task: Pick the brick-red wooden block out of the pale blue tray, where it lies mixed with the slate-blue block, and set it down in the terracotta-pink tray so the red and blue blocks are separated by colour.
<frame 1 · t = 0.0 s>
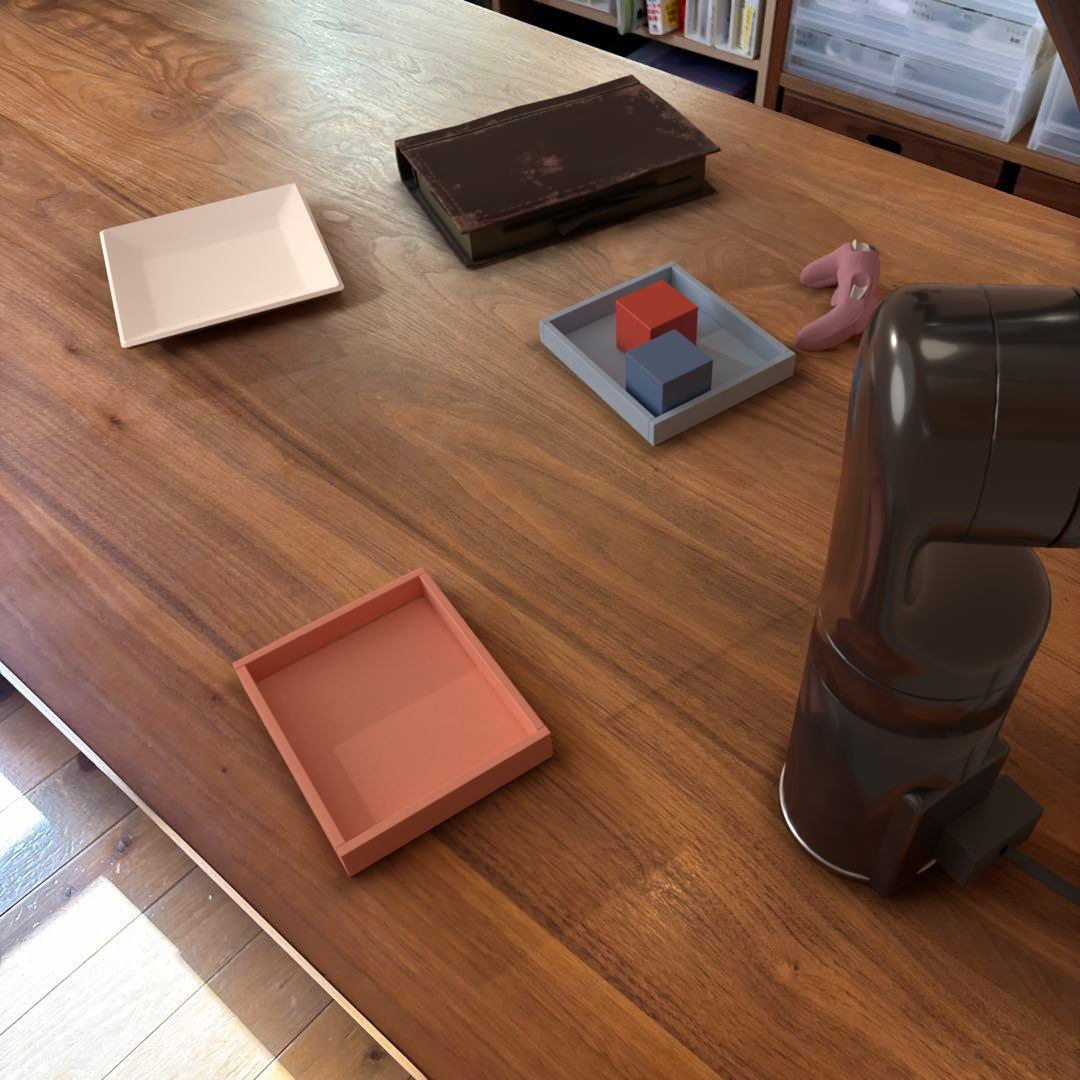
blue block: (667, 403, 83), resting on blue tray
video game controller: (832, 322, 89), on the table
diary: (556, 193, 105), on the table
red tray: (392, 719, 67), on the table
blue tray: (663, 362, 87), on the table
plate: (223, 278, 99), on the table
red block: (655, 350, 87), resting on blue tray
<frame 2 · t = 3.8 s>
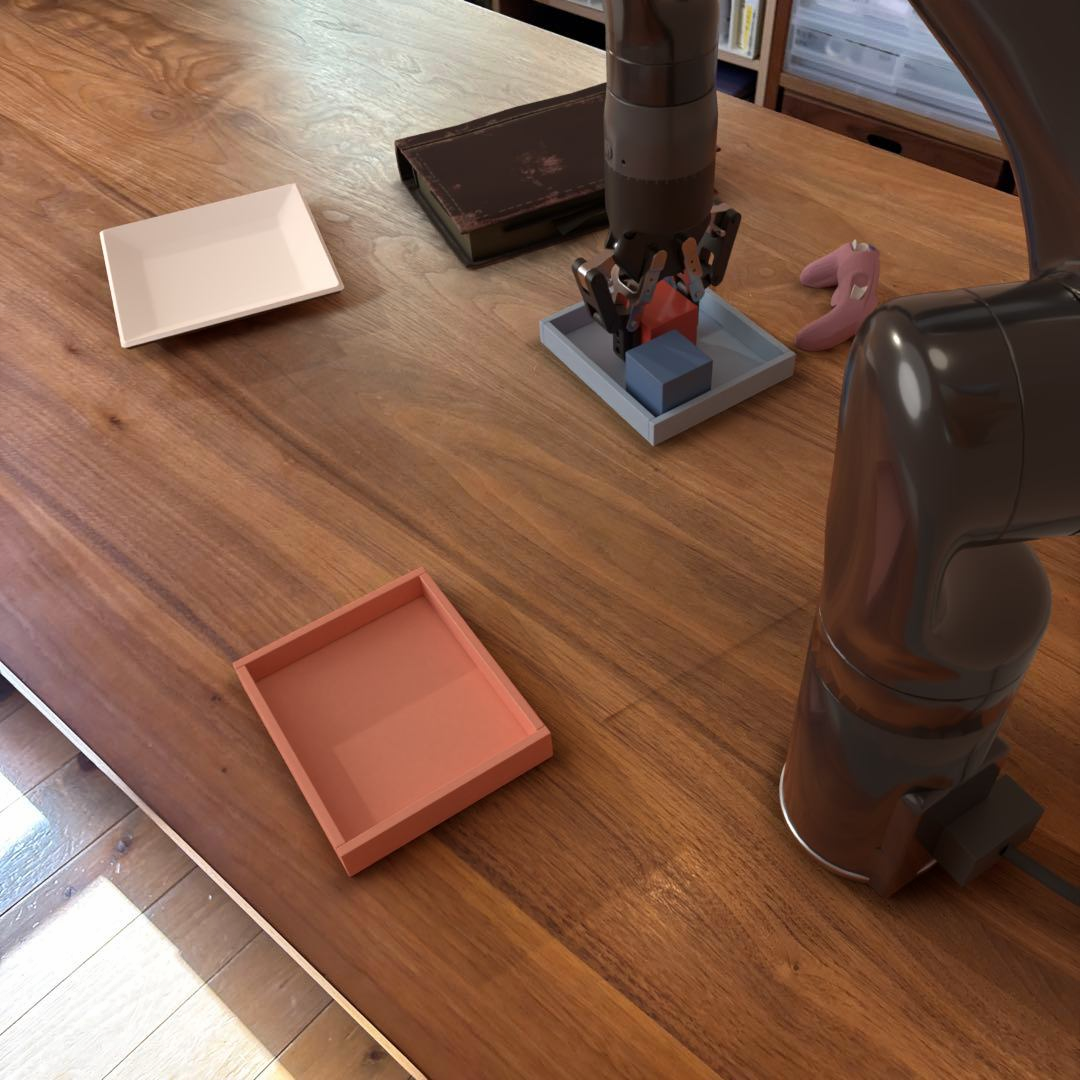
hand: (656, 347, 87), 1 cm above the table, tool pointing down, fingers closed on red block, 4 cm apart
red block: (655, 350, 87), point 1 cm above the table, touching blue tray, gripper
everything else where it was.
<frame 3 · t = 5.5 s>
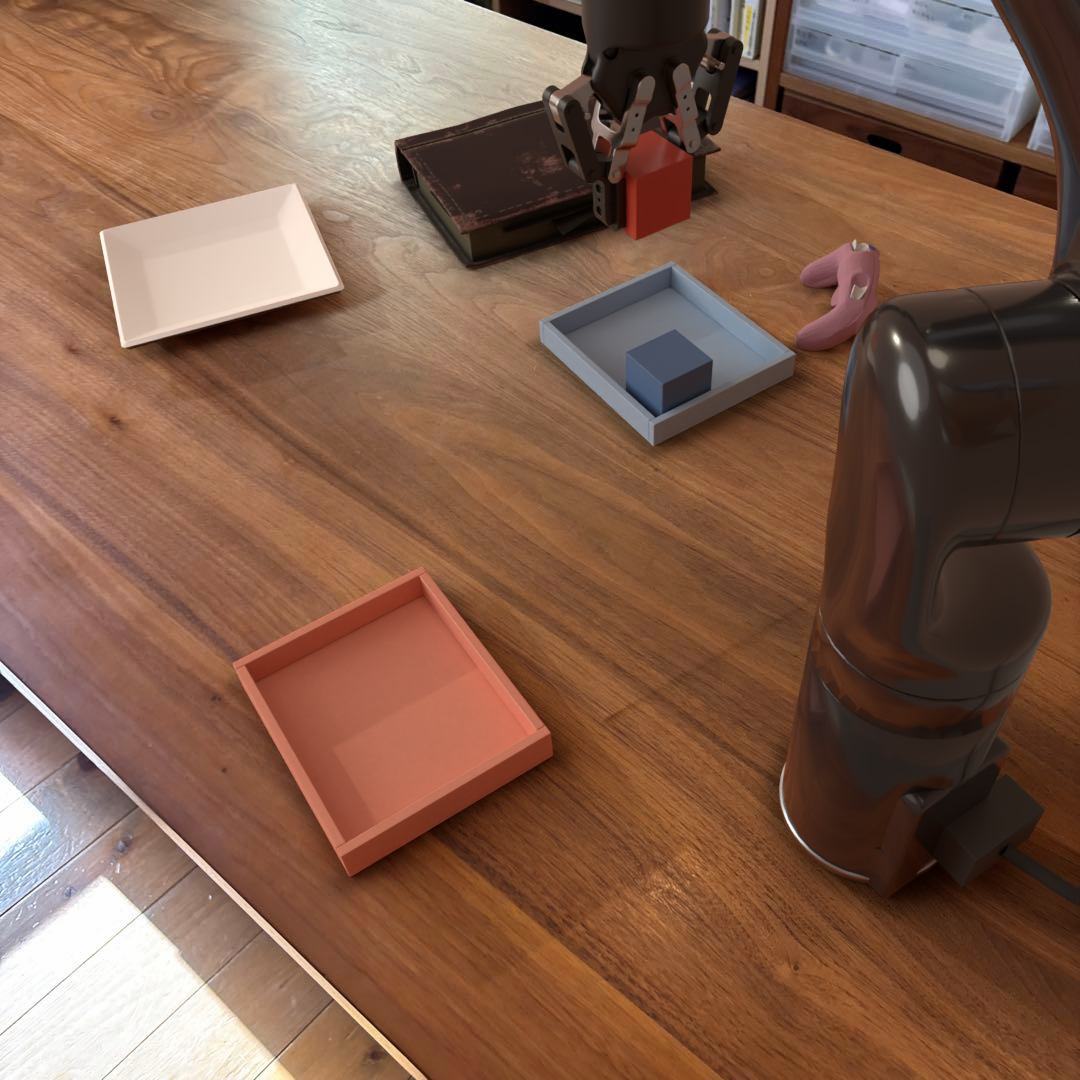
hand: (644, 211, 75), 15 cm above the table, tool pointing down, fingers closed on red block, 4 cm apart
red block: (643, 215, 75), point 14 cm above the table, touching gripper
everything else where it was.
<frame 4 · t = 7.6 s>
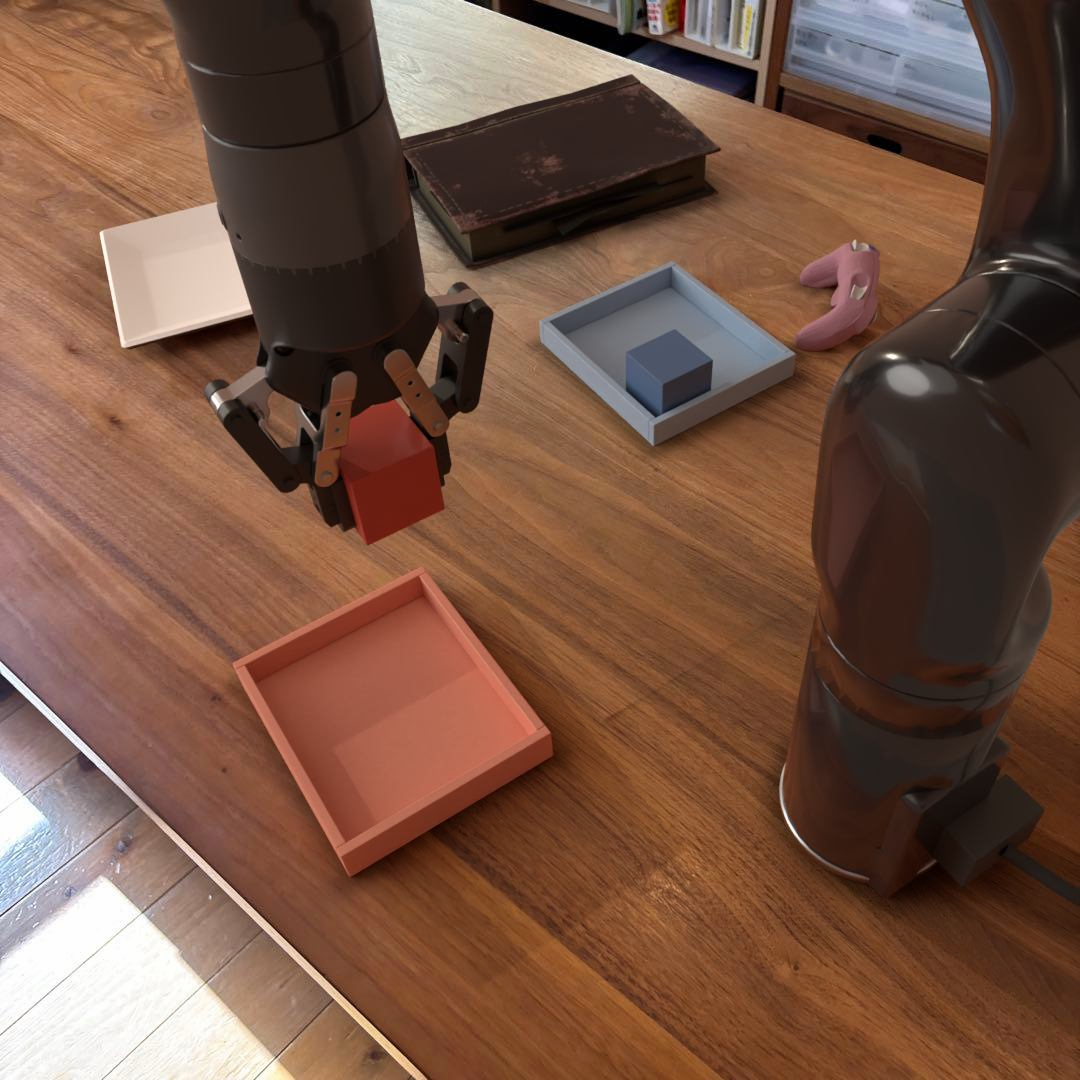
hand: (387, 498, 58), 15 cm above the table, tool pointing down, fingers closed on red block, 4 cm apart
red block: (387, 501, 58), point 15 cm above the table, touching gripper
everything else where it was.
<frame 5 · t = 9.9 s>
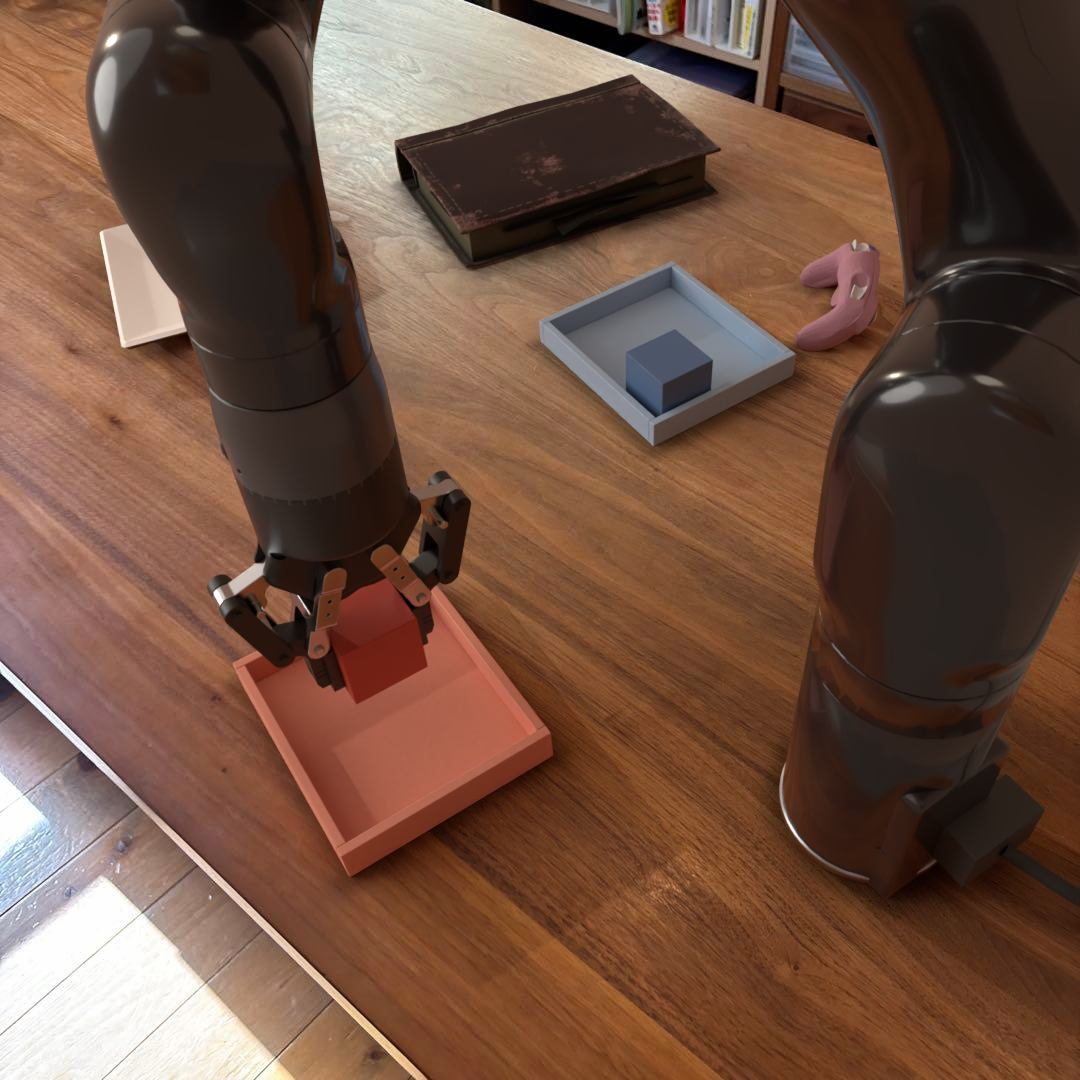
hand: (375, 656, 62), 6 cm above the table, tool pointing down, fingers closed on red block, 4 cm apart
red block: (374, 658, 63), point 6 cm above the table, touching gripper
everything else where it was.
when the fingers open (1 cm above the table, at t = 11.6 s): red block stays where it is, resting on red tray.
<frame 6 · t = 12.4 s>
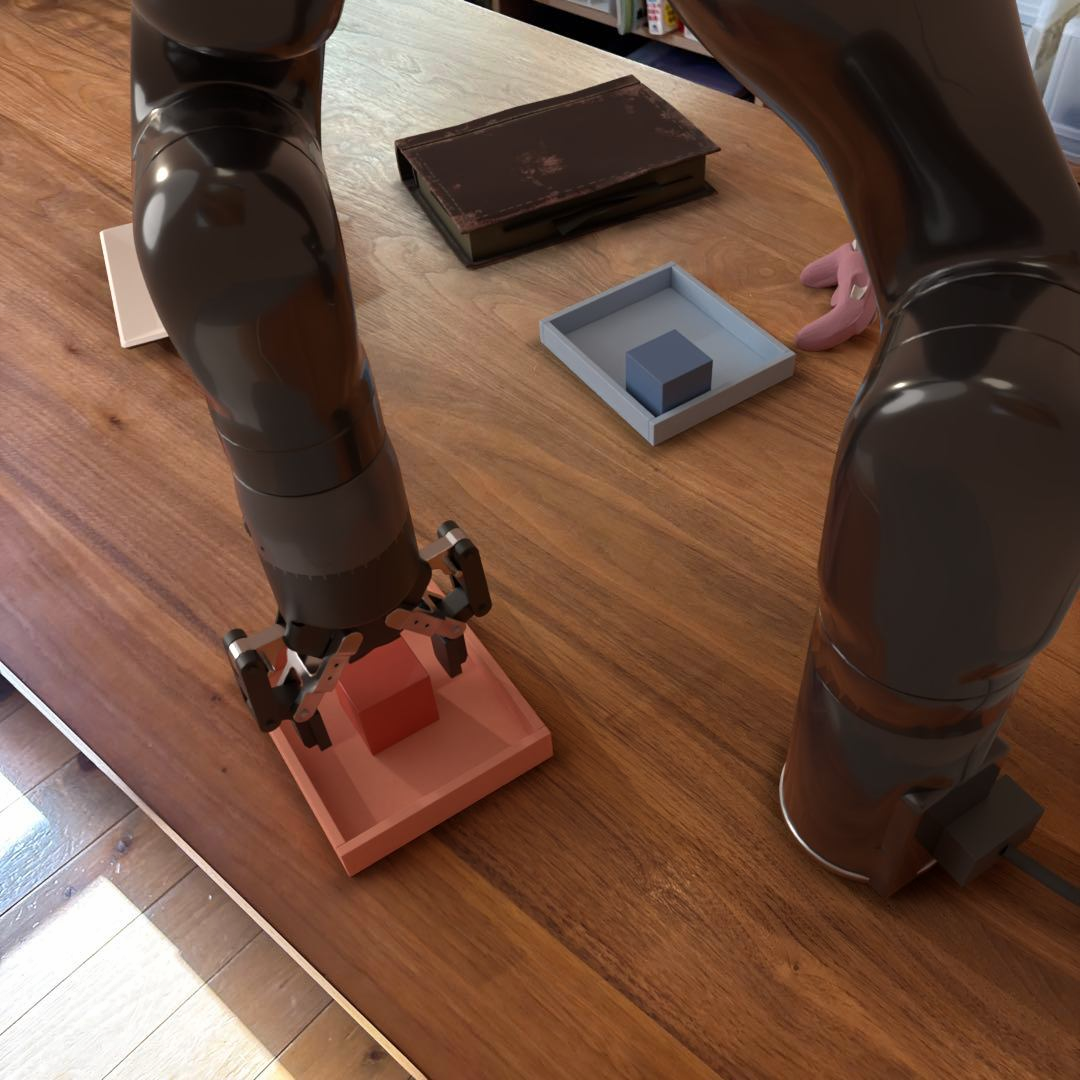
hand: (386, 701, 65), 2 cm above the table, tool pointing down, fingers open, 8 cm apart
red block: (389, 711, 66), resting on red tray
everything else where it was.
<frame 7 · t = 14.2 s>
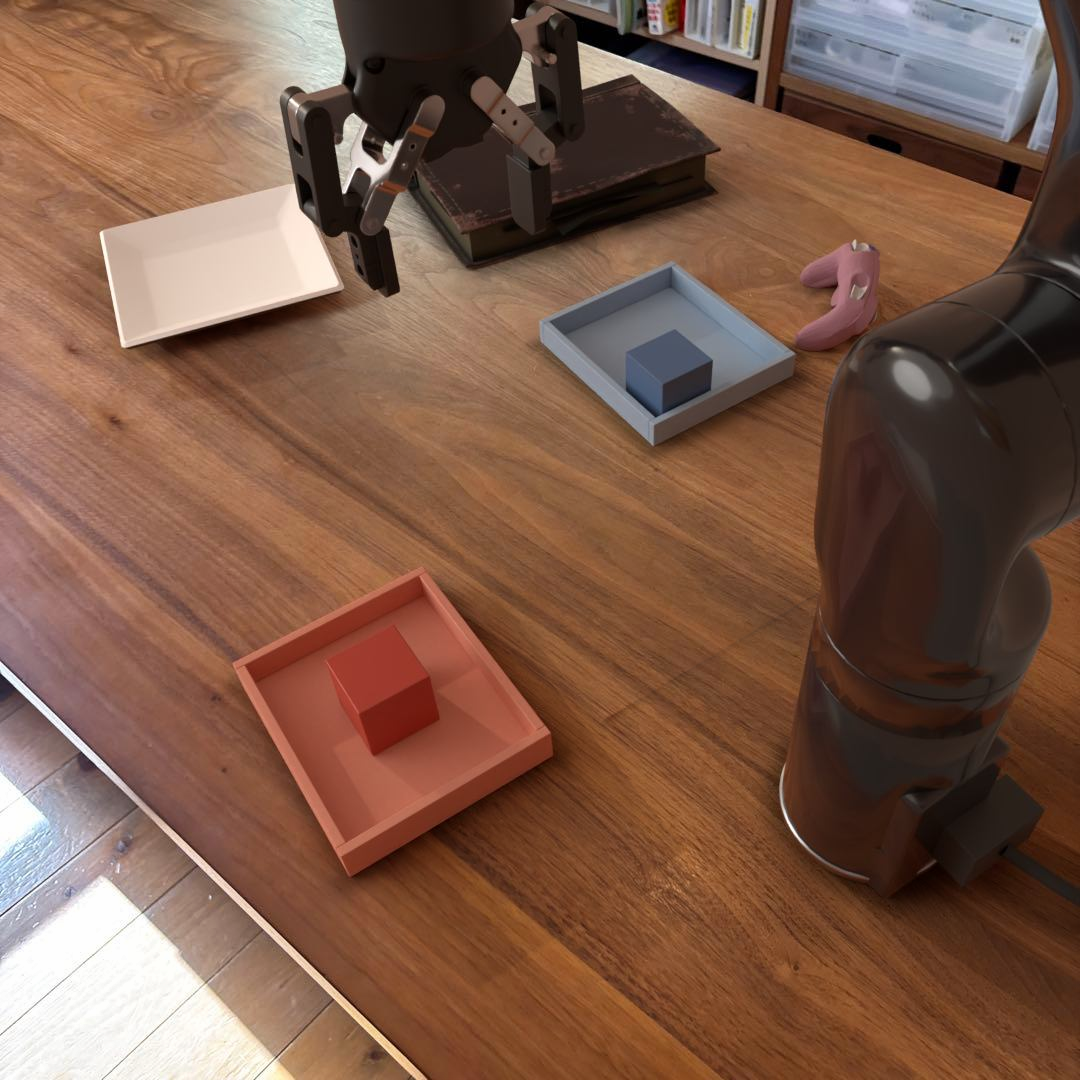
hand: (459, 256, 56), 24 cm above the table, tool pointing down, fingers open, 8 cm apart
nothing on the table moved.
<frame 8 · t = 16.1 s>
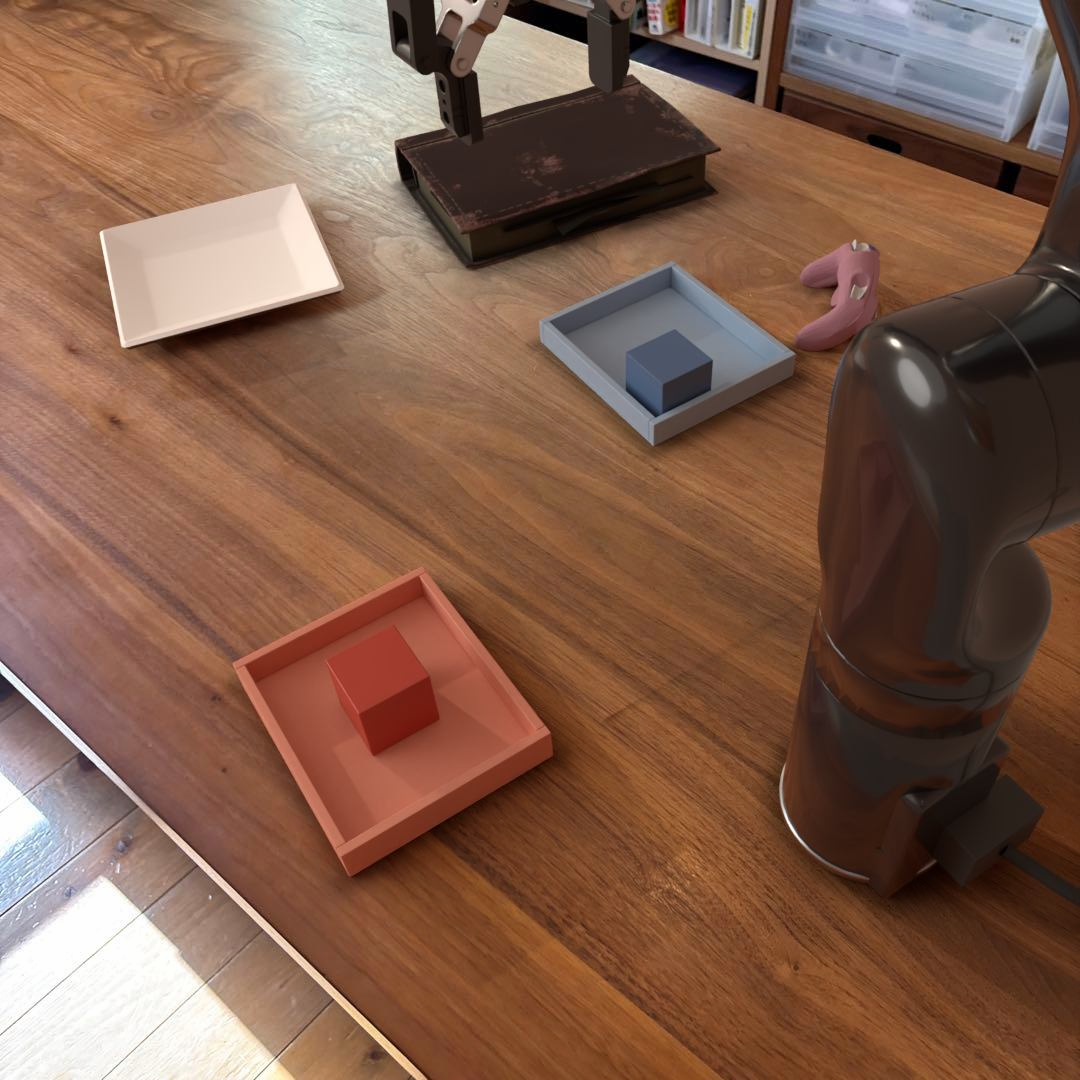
hand: (539, 112, 58), 28 cm above the table, tool pointing down, fingers open, 8 cm apart
nothing on the table moved.
at the end: red block inside the target area in the red tray (0.3 cm from its centre), point 0.5 cm above the red tray's base; blue block inside the target area in the blue tray (5.4 cm from its centre), point 0.5 cm above the blue tray's base; the gripper is holding nothing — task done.
